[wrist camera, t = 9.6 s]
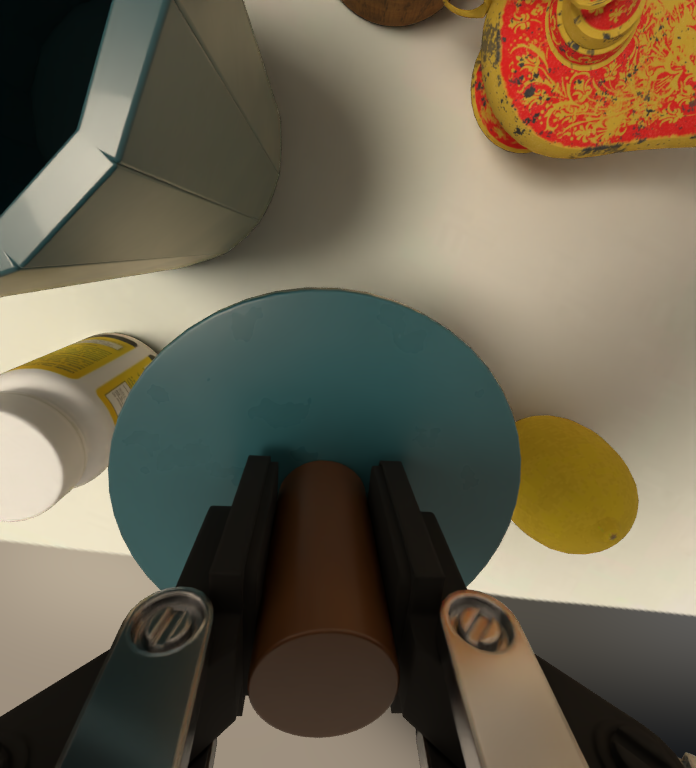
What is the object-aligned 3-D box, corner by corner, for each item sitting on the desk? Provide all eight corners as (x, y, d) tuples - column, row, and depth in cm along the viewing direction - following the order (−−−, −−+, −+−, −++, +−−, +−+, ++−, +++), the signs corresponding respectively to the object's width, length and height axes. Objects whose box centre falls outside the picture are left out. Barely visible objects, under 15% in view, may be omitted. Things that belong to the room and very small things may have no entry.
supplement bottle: (51, 377, 20) (-132, 467, 12) (111, 310, 19) (-42, 358, 11) (132, 439, 21) (17, 558, 13) (192, 380, 20) (108, 468, 12)
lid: (108, 266, 10) (-205, 294, 4) (541, 302, 11) (804, 365, 5) (143, 615, 13) (6, 902, 7) (467, 616, 14) (570, 870, 8)
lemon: (518, 496, 24) (609, 613, 16) (446, 452, 22) (510, 557, 15) (583, 425, 22) (716, 516, 15) (511, 374, 21) (617, 446, 14)
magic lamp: (689, 248, 20) (1107, 253, 9) (339, 108, 17) (371, -118, 6) (776, 92, 18) (1438, -131, 7) (395, -99, 15) (580, -938, 4)
